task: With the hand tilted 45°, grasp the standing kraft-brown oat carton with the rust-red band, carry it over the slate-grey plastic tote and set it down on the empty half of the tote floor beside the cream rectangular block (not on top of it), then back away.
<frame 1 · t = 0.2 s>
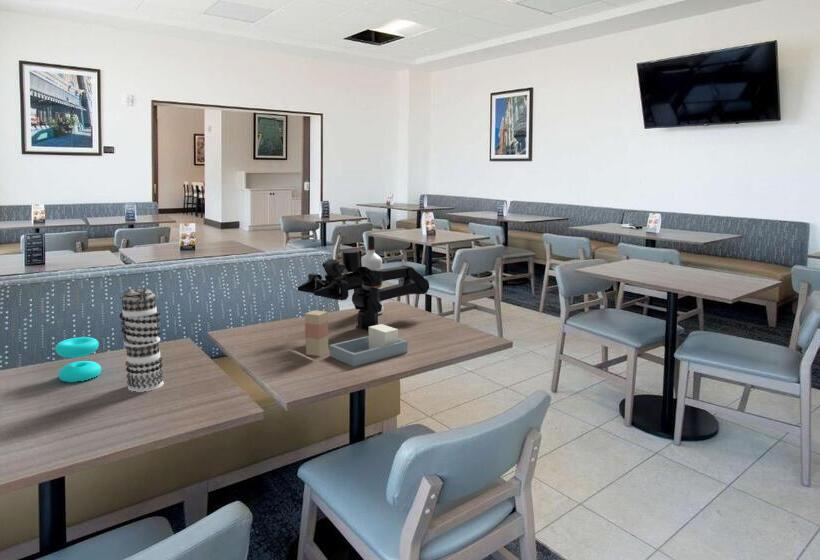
hand: (305, 291, 184), 17 cm above the table, tool horizontal, fingers open, 9 cm apart
tote: (369, 355, 173), on the table
vodka: (371, 313, 225), on the table
cream rectangular block: (383, 350, 177), point 1 cm above the table, touching tote
donuts: (80, 377, 155), on the table
oat carton: (317, 354, 174), on the table
decorative candle: (146, 386, 149), on the table
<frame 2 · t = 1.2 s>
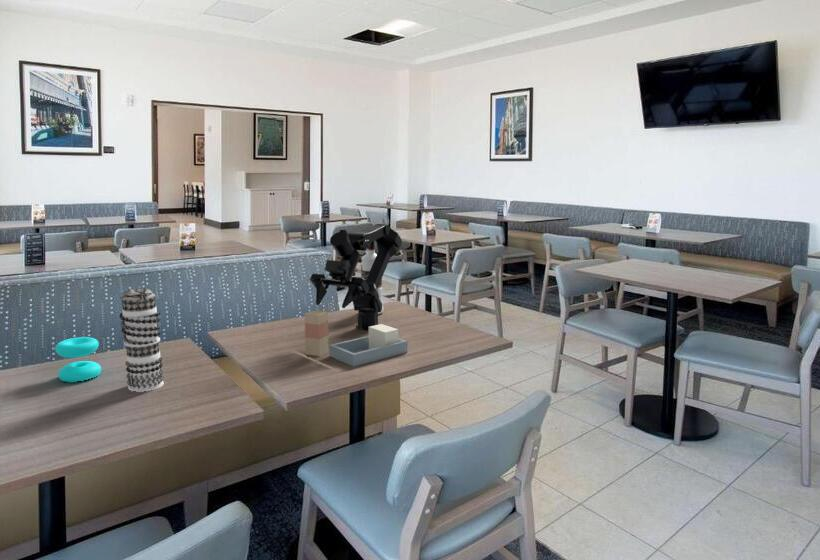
hand: (329, 306, 179), 13 cm above the table, tool tilted 45°, fingers open, 9 cm apart
nothing on the table moved.
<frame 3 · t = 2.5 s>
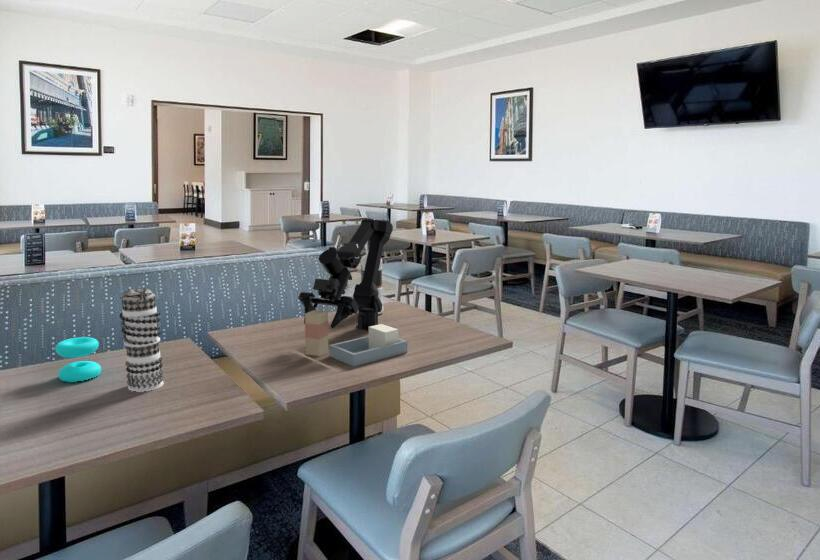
hand: (318, 326, 173), 9 cm above the table, tool tilted 45°, fingers open, 9 cm apart
nothing on the table moved.
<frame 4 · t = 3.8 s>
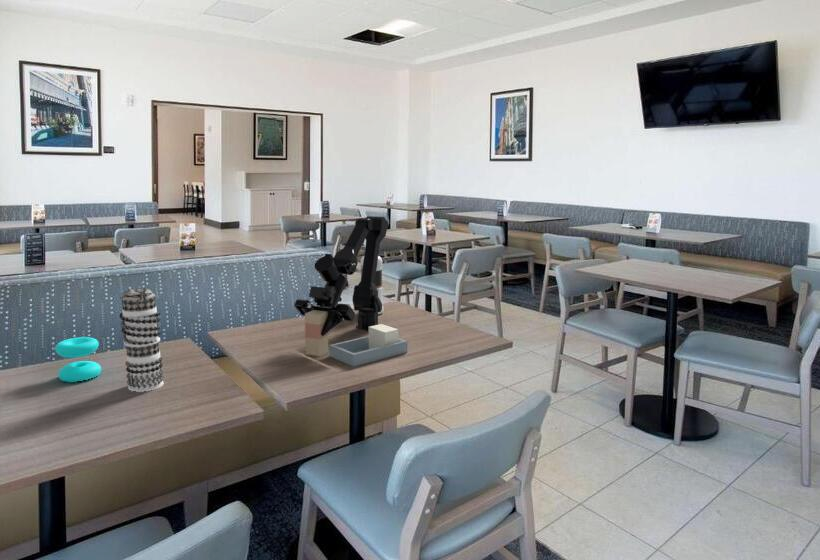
hand: (314, 334, 172), 7 cm above the table, tool tilted 45°, fingers closed on oat carton, 5 cm apart
oat carton: (317, 354, 174), on the table, touching gripper
everything else where it was.
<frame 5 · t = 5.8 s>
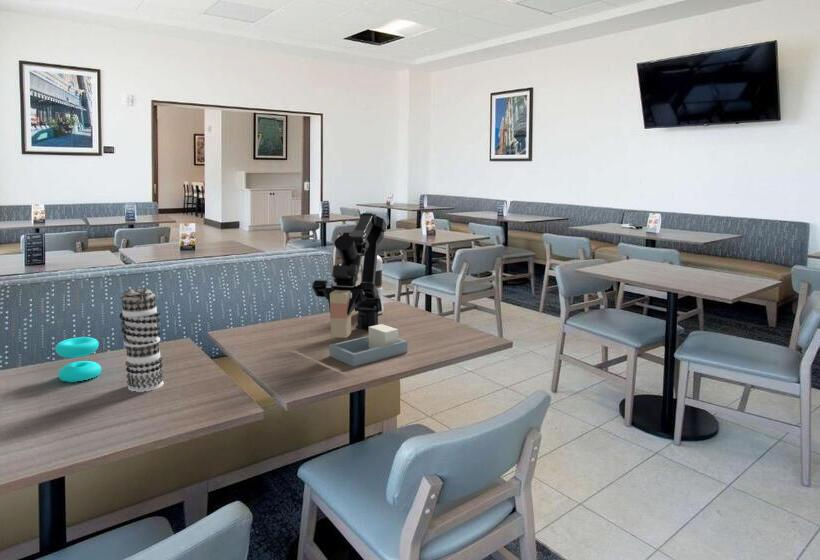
hand: (339, 313, 169), 13 cm above the table, tool tilted 45°, fingers closed on oat carton, 5 cm apart
oat carton: (341, 335, 171), point 7 cm above the table, touching gripper
everything else where it was.
when the fingers open (9 cm above the table, at t = 7.8 s): oat carton drops 1 cm, resting on tote.
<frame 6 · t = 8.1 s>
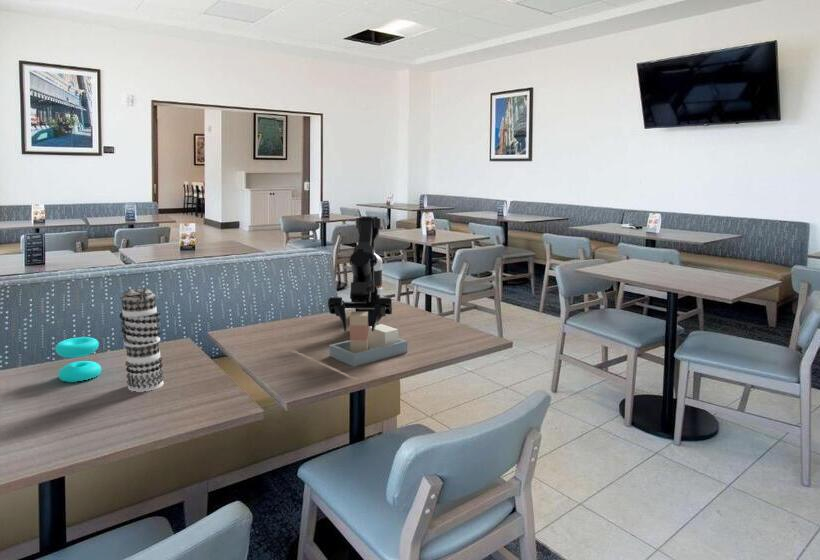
hand: (358, 330, 168), 9 cm above the table, tool tilted 45°, fingers open, 8 cm apart
oat carton: (359, 356, 171), point 1 cm above the table, touching tote
everything else where it was.
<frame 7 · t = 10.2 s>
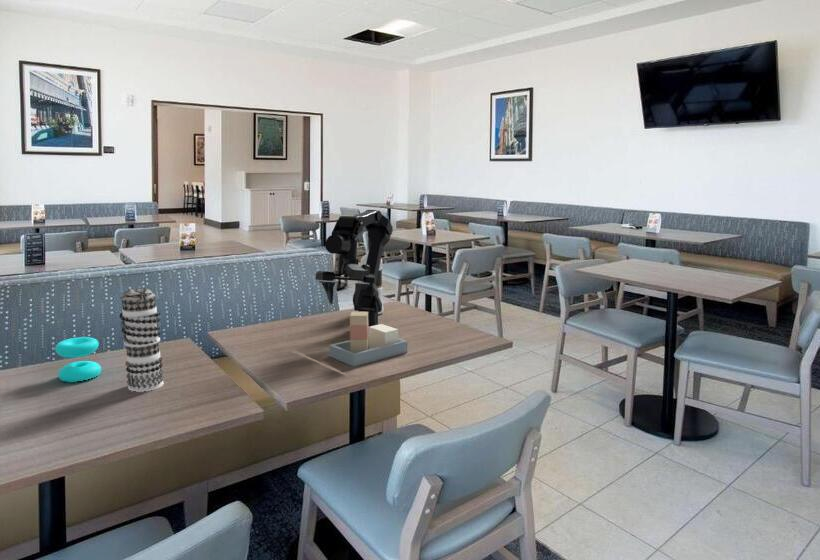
hand: (344, 304, 184), 12 cm above the table, tool pointing down, fingers open, 9 cm apart
nothing on the table moved.
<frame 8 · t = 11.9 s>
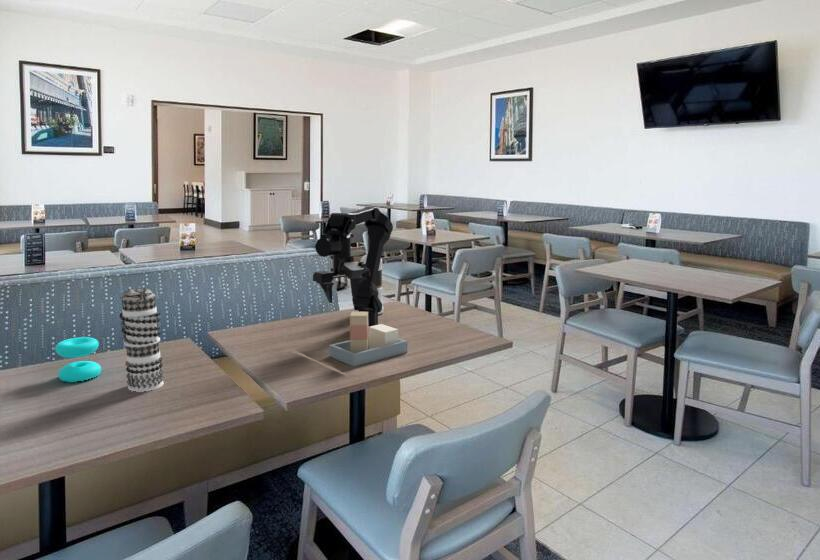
hand: (342, 300, 187), 13 cm above the table, tool pointing down, fingers open, 9 cm apart
nothing on the table moved.
at the end: oat carton inside the target area on the tote (0.7 cm from its centre), point 0.6 cm above the tote's base; oat carton tilted 0°; cream rectangular block moved 0.0 cm from its start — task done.
